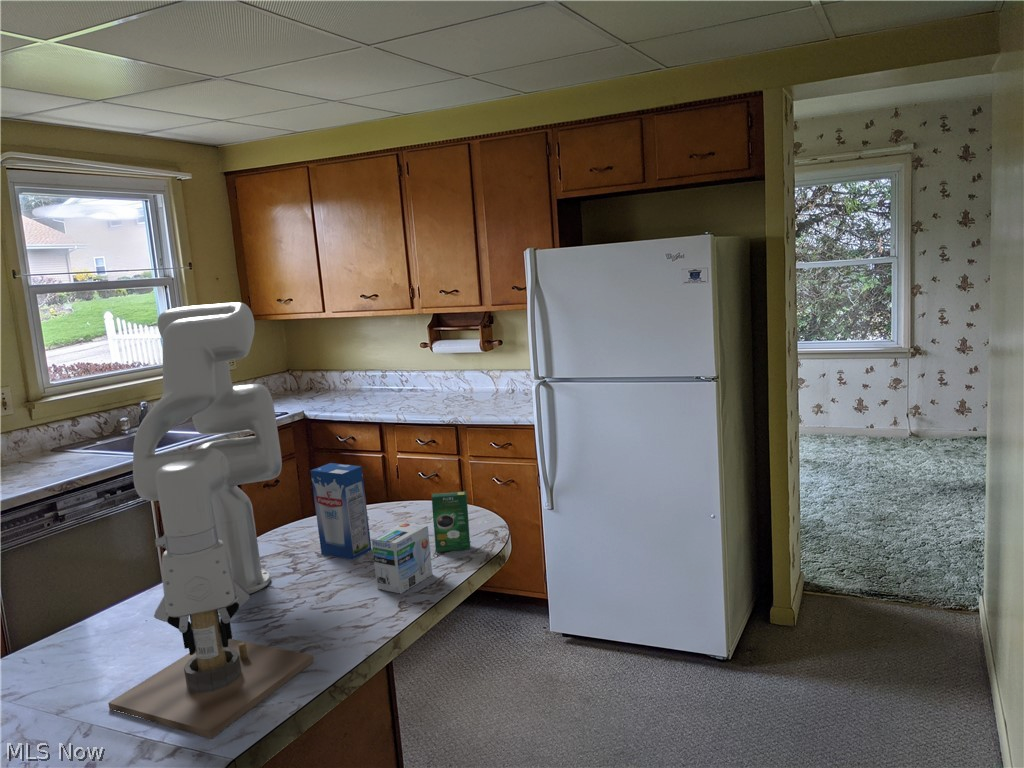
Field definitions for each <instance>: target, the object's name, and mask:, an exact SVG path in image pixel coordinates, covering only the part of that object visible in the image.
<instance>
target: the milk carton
mask: <svg viewBox="0 0 1024 768" xmlns="http://www.w3.org/2000/svg"><path fill="white" fill-rule="evenodd" d="M309 472H310V476H311V483H312V492H313V498H314V499H313V500H314V506H315V515H316V522H317V523H316V524H317V528H318V529H317V530H318V531H317V532H318V538H319V545H320V552H321V553H320V554H322V555H323V556H324V555H325V556H329V557H334V556H335V557H334V558H339V557H341V558H340V559H344V558H345V560H349V559H350V560H351V561H354V560H356V559H358V558H360V557H361V556H363V555H365V554H367V553H368V551H369V552H370V550H371V551H373V548H372V540H371V536H370V535H371V534H370V523H369V518H368V507H367V499H366V493H365V491H366V490H365V485H364V475H363V467H362V465H354V464H353V465H352V464H344V463H343V464H342V463H334V462H329V463H327V464H324V465H321V466H320V467H316V468H313V469H311V470H309ZM350 560H349V561H350Z"/></svg>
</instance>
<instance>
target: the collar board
mask: <svg viewBox="0 0 1024 768" xmlns="http://www.w3.org/2000/svg"><path fill="white" fill-rule="evenodd" d="M224 650H225V656H226V661H227V664H226V665H224V666H223V667H221V668H218V669H215V670H212V671H205V672H198V670H199V668H198V662H197V657H196V653H194V655H190V653H187V654H186V655H184V656H182V657H180V658H179V659H177V660H176V661H174V662H172V663H171V664H169V665H168V666H166V667H164V668H162V669H161V670H160V671H158V672H156V673H155V674H152V675H151V676H149V677H148V678H146V679H145V680H143V681H141V682H140V683H138V684H137V685H135V686H133V687H132V688H129V690H127V691H125V692H124V693H122V694H120V695H118V696H117V697H115V698H113V699H112V700H110V701H109V702H108V708H109V710H110V709H112V710H116V711H120V712H124V713H127V714H130V715H134V716H138V717H141V718H144V719H146V720H145V721H147V720H150V721H149V722H151V721H152V722H151V723H154V722H156V723H155V724H158V723H159V724H158V725H161V724H163V725H162V726H165V725H166V726H165V727H168V726H169V727H168V728H172V729H176V730H180V731H183V732H186V733H190V734H192V735H193V734H194V735H197V736H201V737H203V736H204V738H208V739H213V738H215V737H216V736H217V735H219V734H220V733H221V732H222V731H224V730H225V729H227V728H228V727H229V726H231V725H232V724H233V723H235V722H236V721H237V720H239V719H240V718H241V717H242V716H244V715H245V714H247V713H248V712H249V711H251V710H252V709H253V708H255V707H256V706H257V705H258V704H260V703H261V702H262V701H263V700H265V699H266V698H268V697H269V696H271V694H273V693H274V692H275V691H277V690H278V689H280V688H281V687H282V686H284V684H286V683H288V681H290V680H292V678H294V677H295V676H297V675H298V674H300V672H302V671H304V670H305V669H306V668H307V667H308V666H310V665H311V664H313V663H314V656H313V654H308V653H305V652H298V651H294V650H289V649H284V648H279V647H275V646H268V645H265V644H259V643H256V642H255V643H254V642H250V641H249V642H248V641H245V640H241V639H240V640H239V639H235V638H232V639H228V647H225V648H224ZM112 710H111V711H112ZM116 711H115V712H116ZM130 715H129V716H130ZM144 719H143V720H144Z"/></svg>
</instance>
